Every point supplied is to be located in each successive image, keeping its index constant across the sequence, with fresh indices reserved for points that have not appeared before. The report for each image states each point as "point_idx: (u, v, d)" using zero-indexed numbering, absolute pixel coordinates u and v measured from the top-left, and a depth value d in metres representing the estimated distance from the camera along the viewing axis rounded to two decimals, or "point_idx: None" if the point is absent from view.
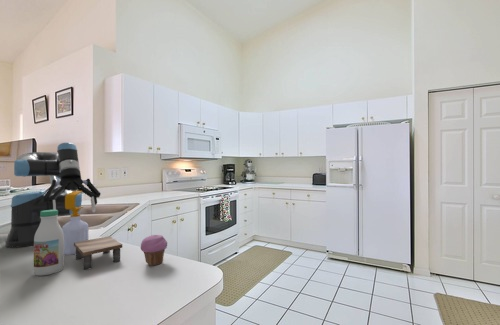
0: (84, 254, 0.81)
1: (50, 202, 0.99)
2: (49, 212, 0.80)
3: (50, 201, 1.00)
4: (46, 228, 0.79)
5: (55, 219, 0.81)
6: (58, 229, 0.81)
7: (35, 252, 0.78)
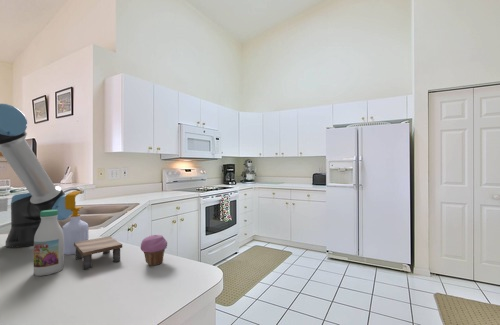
0: (84, 254, 0.81)
1: None
2: (49, 212, 0.80)
3: None
4: (46, 228, 0.79)
5: (55, 219, 0.81)
6: (58, 229, 0.81)
7: (35, 252, 0.78)
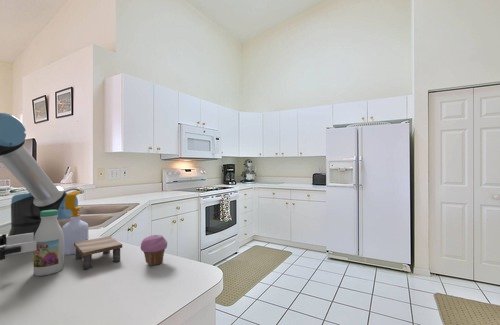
0: (84, 254, 0.81)
1: None
2: (49, 212, 0.80)
3: None
4: (46, 228, 0.79)
5: (55, 219, 0.81)
6: (58, 229, 0.81)
7: (35, 252, 0.78)
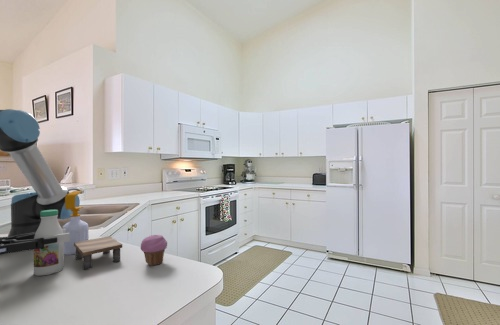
0: (84, 254, 0.81)
1: None
2: (49, 212, 0.80)
3: None
4: (46, 228, 0.79)
5: (55, 219, 0.81)
6: (58, 229, 0.81)
7: (35, 252, 0.78)
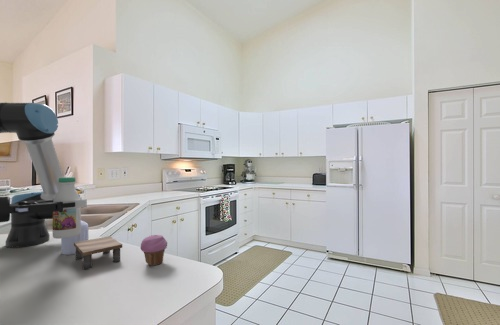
0: (84, 254, 0.81)
1: None
2: (67, 178, 0.83)
3: None
4: (64, 193, 0.82)
5: (73, 186, 0.84)
6: (75, 195, 0.84)
7: (54, 216, 0.81)
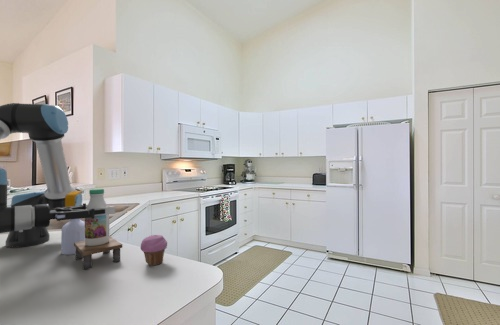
0: (84, 254, 0.81)
1: None
2: (97, 190, 0.89)
3: None
4: (95, 204, 0.88)
5: (102, 197, 0.91)
6: (105, 205, 0.91)
7: (87, 225, 0.87)
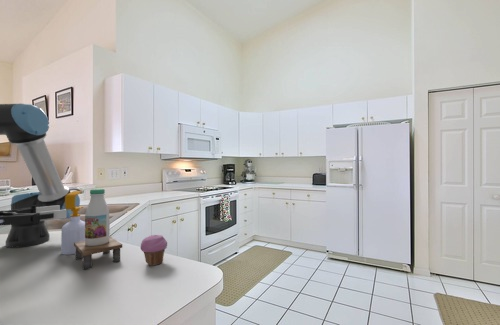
0: (84, 254, 0.81)
1: (38, 212, 0.86)
2: (98, 190, 0.90)
3: (36, 213, 0.86)
4: (96, 204, 0.89)
5: (103, 197, 0.91)
6: (105, 206, 0.91)
7: (87, 225, 0.87)
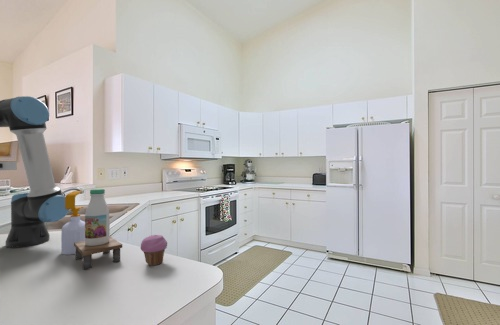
0: (84, 254, 0.81)
1: None
2: (98, 190, 0.90)
3: None
4: (96, 204, 0.89)
5: (103, 197, 0.91)
6: (105, 205, 0.91)
7: (87, 225, 0.87)
